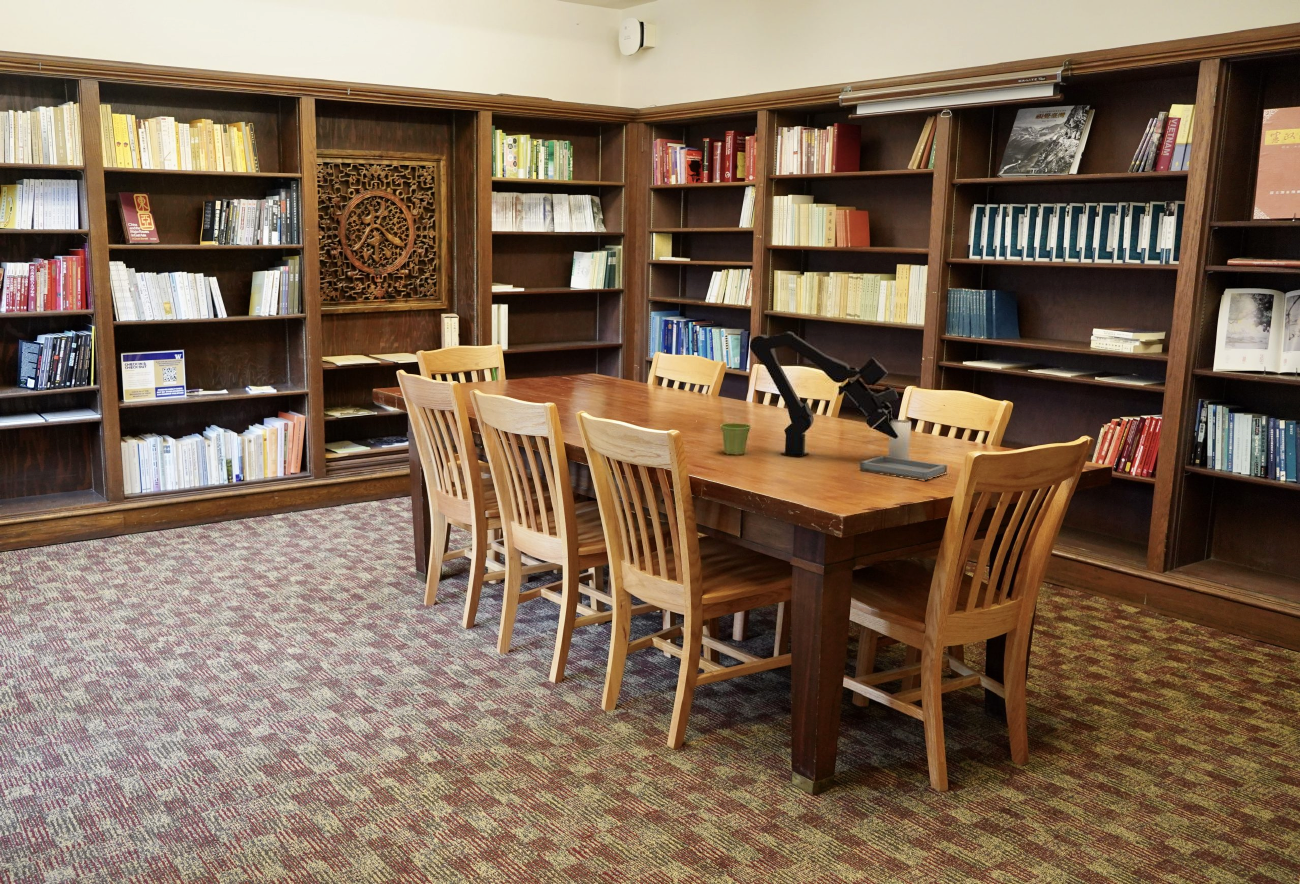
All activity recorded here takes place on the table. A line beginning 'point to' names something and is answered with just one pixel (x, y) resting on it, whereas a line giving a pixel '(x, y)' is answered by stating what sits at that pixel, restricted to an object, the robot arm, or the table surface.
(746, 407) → the table surface
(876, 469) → the tray
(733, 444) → the plant pot
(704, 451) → the table surface
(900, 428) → the pencil cup
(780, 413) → the table surface
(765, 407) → the table surface
